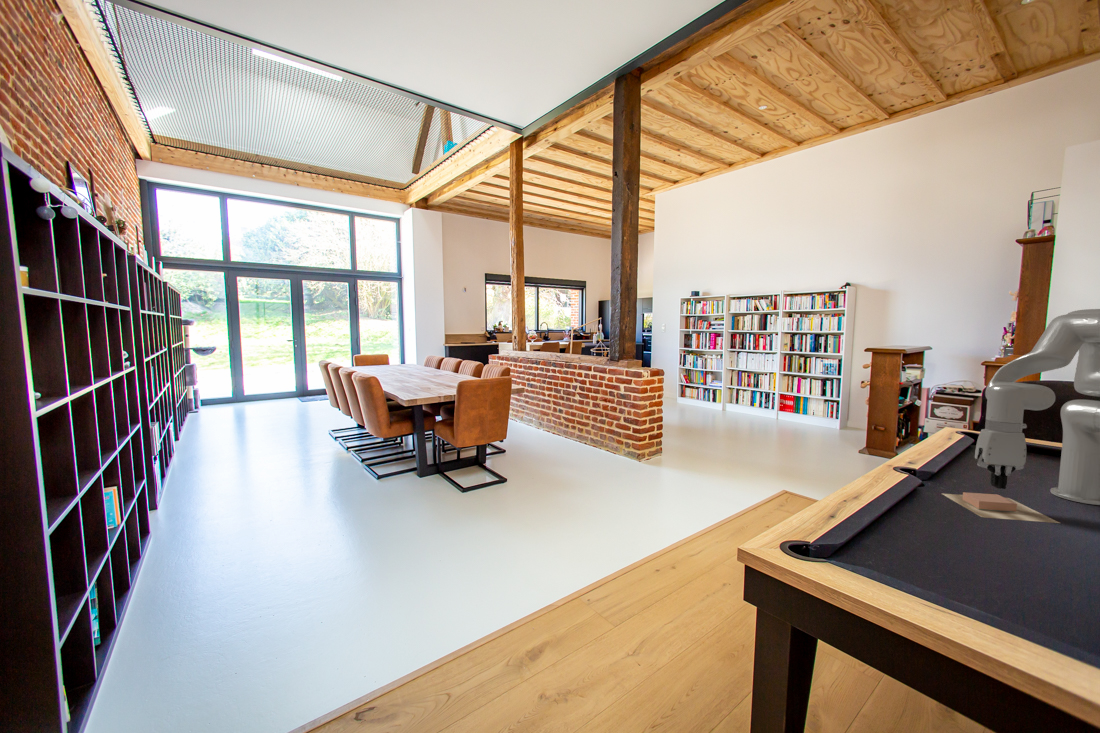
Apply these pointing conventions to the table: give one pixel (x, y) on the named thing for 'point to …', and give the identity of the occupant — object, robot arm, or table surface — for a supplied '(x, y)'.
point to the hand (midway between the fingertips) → (998, 487)
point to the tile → (989, 502)
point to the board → (1020, 514)
